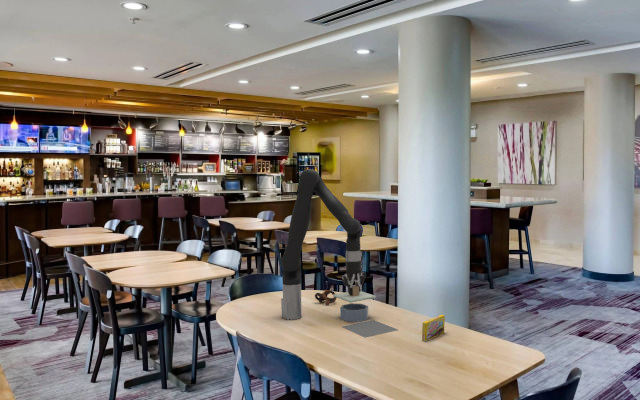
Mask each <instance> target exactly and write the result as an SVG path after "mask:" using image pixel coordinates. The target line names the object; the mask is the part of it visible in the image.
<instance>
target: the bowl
mask: <svg viewBox="0 0 640 400" xmlns="http://www.w3.org/2000/svg"><path fill="white" fill-rule="evenodd" d="M339 308H340V309H339V311H340V312H339V314H340V316H339V317H340V318H339V319H341V320H342V321H345V322H350V323H351V322H352V323H353V322H354V323H357V322H358V323H360V322H365V321H367V320H368V318H369V306H368V305H366V304H363V303H356V302H352V303H350V302H349V303H345V304H342V305H341V306H340V307H339Z"/></svg>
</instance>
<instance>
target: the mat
mask: <svg viewBox="0 0 640 400" xmlns="http://www.w3.org/2000/svg"><path fill="white" fill-rule="evenodd" d="M341 328H342V329H345V330H347V331H349V332H352V333H354V334H356V335H359V336H361V337H363V338H364V339H365V338H369V337H373V336H379V335H383V334H388V333H391V332H396V331H397V332H398V331H399V329H398V328H395V327H393V326H390V325H387V324H385V323H382V322H380V321H378V320H375V319H372V320H368V321H367V320H365V321H360V322H358V323H357V322H356V323H352V324H347V325H342V326H341Z"/></svg>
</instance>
